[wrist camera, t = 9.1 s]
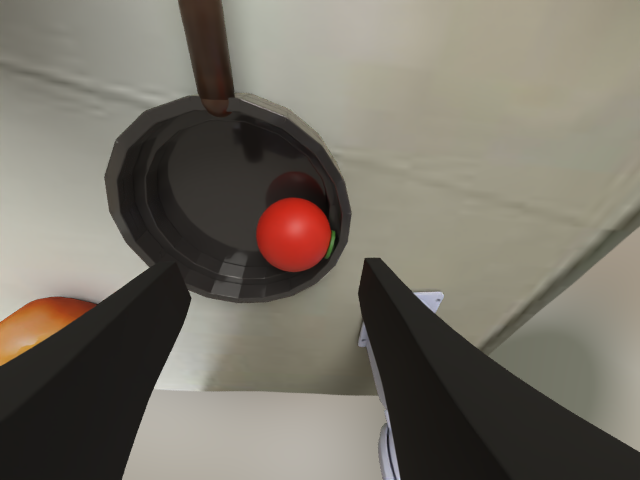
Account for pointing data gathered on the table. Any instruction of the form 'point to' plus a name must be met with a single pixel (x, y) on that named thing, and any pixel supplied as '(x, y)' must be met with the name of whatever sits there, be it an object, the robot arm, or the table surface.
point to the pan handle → (208, 53)
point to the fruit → (37, 323)
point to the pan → (221, 192)
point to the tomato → (294, 235)
